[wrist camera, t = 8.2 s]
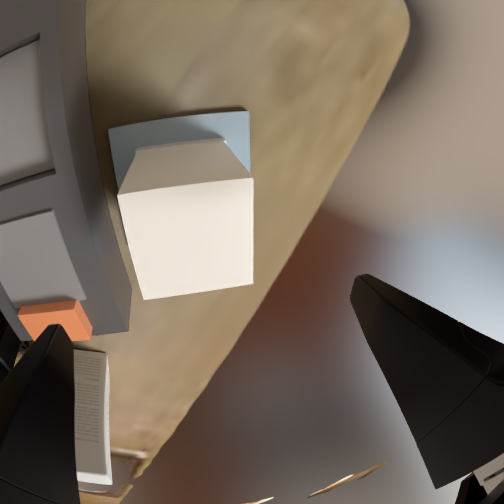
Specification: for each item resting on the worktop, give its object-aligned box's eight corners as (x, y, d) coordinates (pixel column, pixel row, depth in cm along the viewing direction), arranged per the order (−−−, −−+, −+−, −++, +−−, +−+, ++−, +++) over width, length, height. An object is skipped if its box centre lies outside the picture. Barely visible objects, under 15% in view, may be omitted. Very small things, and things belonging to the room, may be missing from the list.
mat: (133, 247, 18) (132, 250, 18) (109, 128, 14) (107, 129, 14) (249, 229, 20) (251, 232, 20) (247, 110, 15) (249, 111, 15)
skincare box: (57, 368, 23) (46, 475, 13) (49, 343, 21) (30, 461, 11) (111, 376, 25) (113, 486, 16) (109, 352, 23) (107, 476, 14)
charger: (148, 225, 17) (142, 301, 12) (136, 148, 15) (113, 193, 9) (227, 215, 18) (255, 285, 13) (224, 137, 16) (255, 174, 10)
